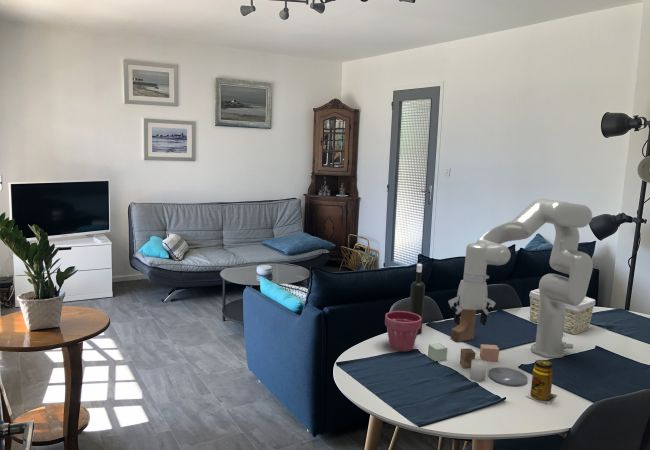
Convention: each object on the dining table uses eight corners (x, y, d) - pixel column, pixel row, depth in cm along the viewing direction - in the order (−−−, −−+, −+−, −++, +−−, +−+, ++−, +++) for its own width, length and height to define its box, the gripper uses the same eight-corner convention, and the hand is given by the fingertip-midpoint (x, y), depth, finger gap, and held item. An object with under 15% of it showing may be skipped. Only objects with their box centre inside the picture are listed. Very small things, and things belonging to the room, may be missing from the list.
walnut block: (470, 363, 196) (471, 348, 195) (474, 368, 192) (475, 352, 191) (459, 363, 195) (460, 348, 194) (463, 368, 192) (464, 352, 191)
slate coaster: (516, 369, 192) (516, 367, 192) (534, 386, 180) (534, 383, 179) (482, 370, 191) (482, 367, 191) (497, 386, 178) (498, 384, 178)
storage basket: (593, 330, 238) (597, 298, 235) (575, 337, 228) (579, 304, 225) (544, 315, 256) (547, 285, 254) (525, 321, 246) (528, 290, 244)
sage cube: (438, 355, 203) (439, 342, 202) (446, 360, 198) (447, 347, 197) (427, 356, 201) (428, 344, 200) (435, 362, 196) (436, 349, 196)
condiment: (525, 397, 172) (529, 362, 170) (534, 388, 178) (538, 354, 176) (548, 404, 167) (552, 369, 165) (557, 395, 174) (561, 361, 172)
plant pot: (398, 337, 219) (400, 308, 217) (426, 348, 209) (428, 317, 207) (376, 346, 209) (377, 315, 207) (404, 357, 199) (406, 325, 197)
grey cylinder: (481, 375, 187) (483, 359, 186) (487, 381, 182) (488, 365, 181) (467, 375, 186) (469, 359, 185) (473, 381, 181) (474, 365, 180)
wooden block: (457, 342, 216) (461, 300, 213) (450, 338, 220) (453, 297, 217) (474, 339, 220) (477, 297, 217) (466, 335, 224) (470, 294, 221)
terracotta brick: (495, 357, 203) (496, 345, 202) (498, 361, 199) (499, 349, 198) (479, 356, 203) (480, 344, 202) (481, 360, 199) (483, 348, 198)
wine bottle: (418, 335, 222) (423, 266, 217) (405, 332, 225) (410, 264, 220) (423, 331, 227) (428, 263, 222) (411, 328, 230) (415, 261, 225)
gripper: (493, 275, 193) (488, 320, 196) (447, 274, 191) (443, 320, 194) (502, 281, 186) (497, 327, 188) (454, 280, 183) (450, 327, 186)
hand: (469, 323), depth 191 cm, fingers open, 9 cm apart
